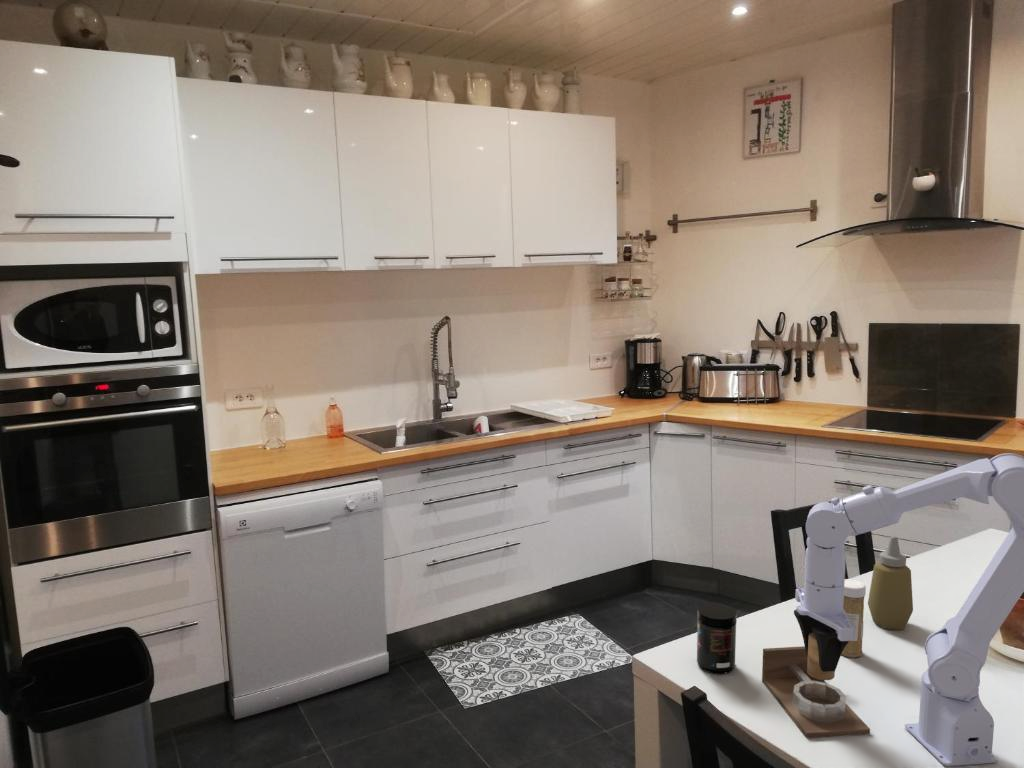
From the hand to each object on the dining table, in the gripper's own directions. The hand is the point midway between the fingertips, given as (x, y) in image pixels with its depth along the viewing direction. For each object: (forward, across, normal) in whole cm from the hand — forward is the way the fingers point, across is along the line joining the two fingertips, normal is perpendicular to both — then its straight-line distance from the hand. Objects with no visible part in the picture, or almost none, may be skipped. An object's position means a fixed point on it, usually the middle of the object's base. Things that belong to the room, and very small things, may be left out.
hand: (820, 662), depth 115 cm
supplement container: (+9, -16, -11) cm, 21 cm away
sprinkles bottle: (+9, -18, +15) cm, 25 cm away
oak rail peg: (+2, 0, 0) cm, 2 cm away
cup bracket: (+9, -2, 0) cm, 9 cm away
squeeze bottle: (+9, -28, +29) cm, 41 cm away
